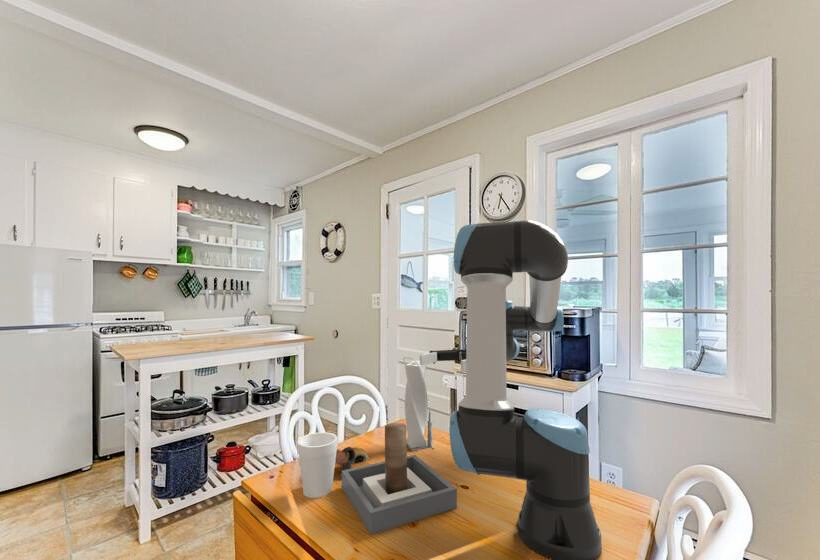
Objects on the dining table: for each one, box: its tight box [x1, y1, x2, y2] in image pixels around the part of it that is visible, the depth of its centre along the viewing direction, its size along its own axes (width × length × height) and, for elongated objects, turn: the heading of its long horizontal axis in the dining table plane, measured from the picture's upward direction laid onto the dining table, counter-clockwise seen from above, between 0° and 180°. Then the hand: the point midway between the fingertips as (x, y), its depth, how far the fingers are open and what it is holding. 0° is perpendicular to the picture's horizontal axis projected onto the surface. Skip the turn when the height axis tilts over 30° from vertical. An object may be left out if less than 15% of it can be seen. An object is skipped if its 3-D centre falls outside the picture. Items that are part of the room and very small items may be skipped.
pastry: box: [347, 447, 369, 466], centre depth 108 cm, size 9×7×4 cm
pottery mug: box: [335, 446, 355, 481], centre depth 99 cm, size 12×10×8 cm
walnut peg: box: [384, 422, 408, 495], centre depth 86 cm, size 5×5×16 cm
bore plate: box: [363, 468, 432, 508], centre depth 86 cm, size 12×12×3 cm
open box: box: [341, 454, 458, 535], centre depth 86 cm, size 20×20×5 cm
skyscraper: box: [402, 356, 435, 452], centre depth 118 cm, size 8×8×28 cm
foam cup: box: [297, 431, 339, 499], centre depth 90 cm, size 10×9×13 cm
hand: (440, 363), depth 96 cm, fingers open, 13 cm apart
